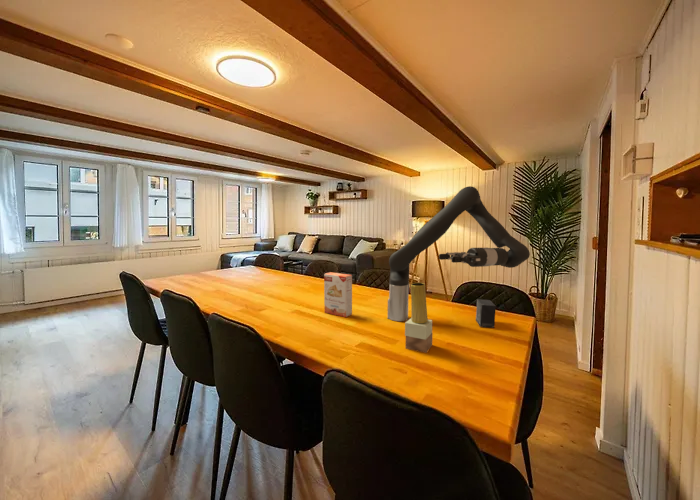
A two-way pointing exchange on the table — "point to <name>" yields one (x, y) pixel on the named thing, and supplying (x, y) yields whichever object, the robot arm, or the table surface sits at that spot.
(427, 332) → the tower top block
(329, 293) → the cracker box
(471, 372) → the table surface
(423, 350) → the tower base block
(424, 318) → the vase
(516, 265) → the robot arm
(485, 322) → the small box
